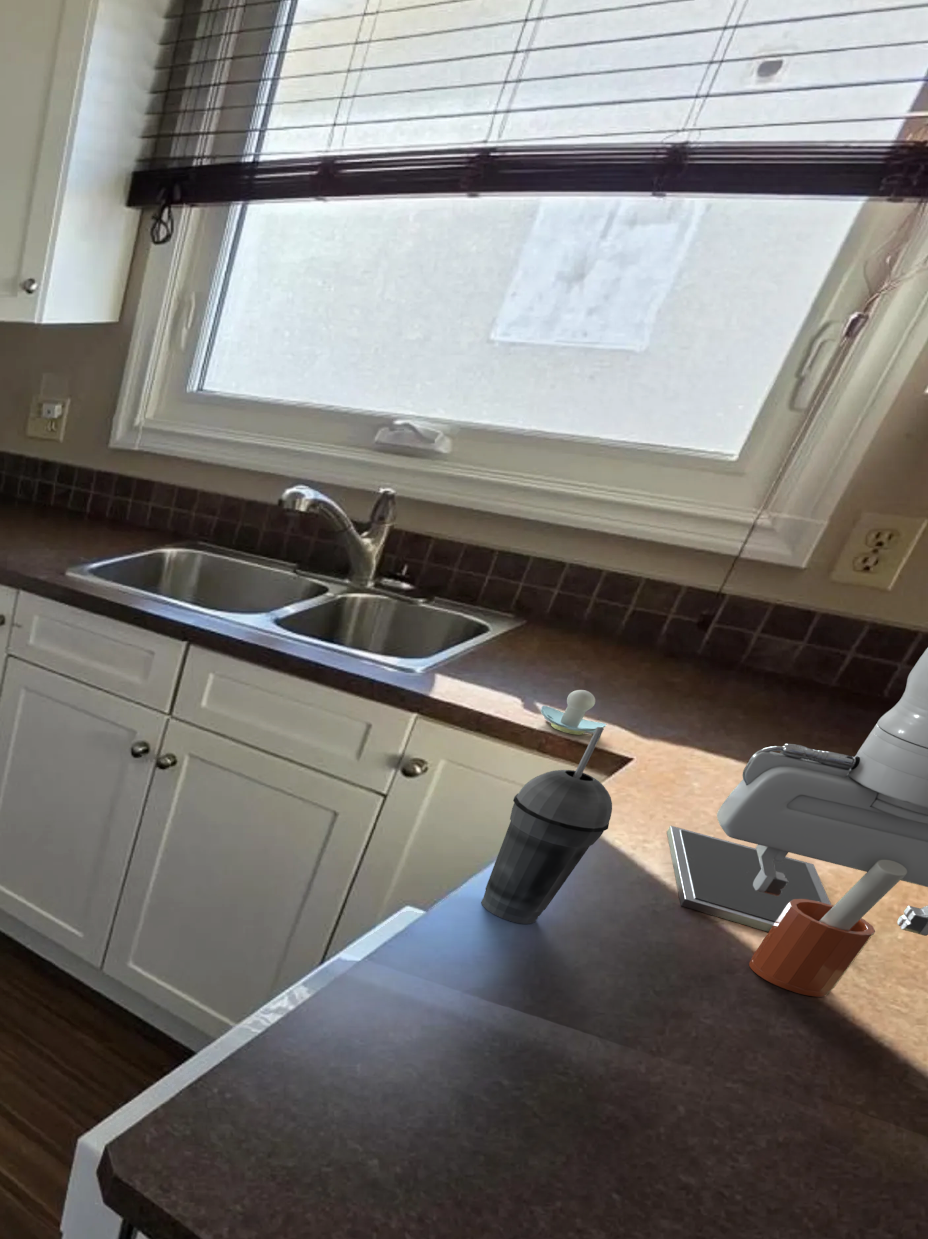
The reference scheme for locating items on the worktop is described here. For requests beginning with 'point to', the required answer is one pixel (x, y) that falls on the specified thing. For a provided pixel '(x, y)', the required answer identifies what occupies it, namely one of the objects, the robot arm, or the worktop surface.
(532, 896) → the beverage cup
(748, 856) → the tablet
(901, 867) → the stylus
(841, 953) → the pen pot
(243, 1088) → the worktop surface
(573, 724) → the pacifier
